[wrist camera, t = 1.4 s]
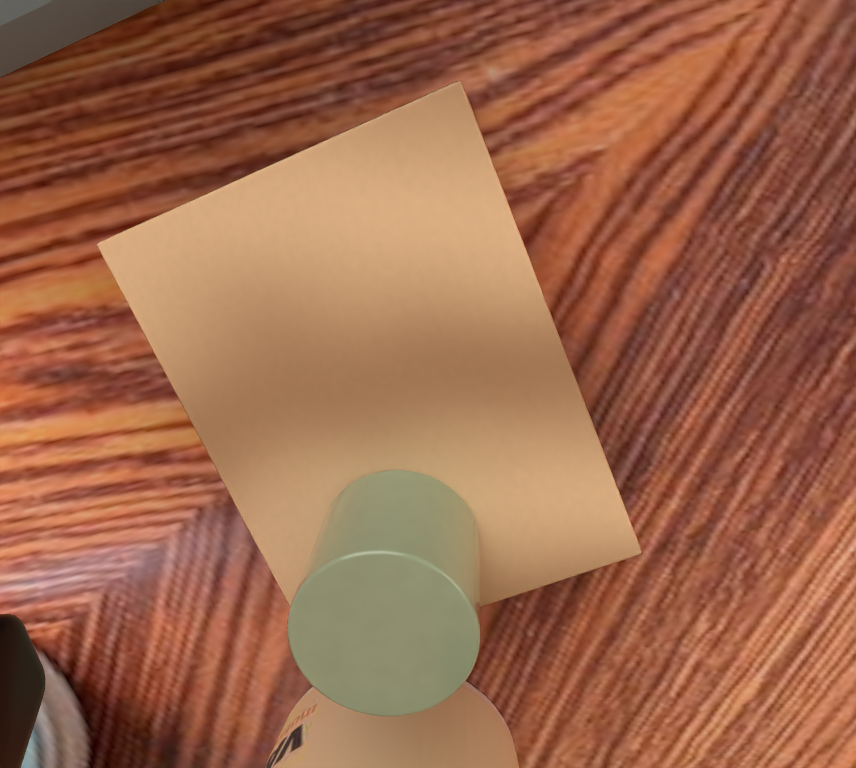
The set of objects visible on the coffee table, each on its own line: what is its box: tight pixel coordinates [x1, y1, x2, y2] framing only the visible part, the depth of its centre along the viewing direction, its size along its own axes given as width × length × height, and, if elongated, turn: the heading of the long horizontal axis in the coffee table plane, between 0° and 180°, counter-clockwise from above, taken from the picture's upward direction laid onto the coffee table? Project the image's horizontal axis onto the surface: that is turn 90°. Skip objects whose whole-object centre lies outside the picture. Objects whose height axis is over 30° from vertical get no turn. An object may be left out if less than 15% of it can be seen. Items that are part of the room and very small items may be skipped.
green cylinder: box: [287, 470, 481, 716], centre depth 18 cm, size 4×4×4 cm
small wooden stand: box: [97, 81, 642, 607], centre depth 21 cm, size 12×9×3 cm
